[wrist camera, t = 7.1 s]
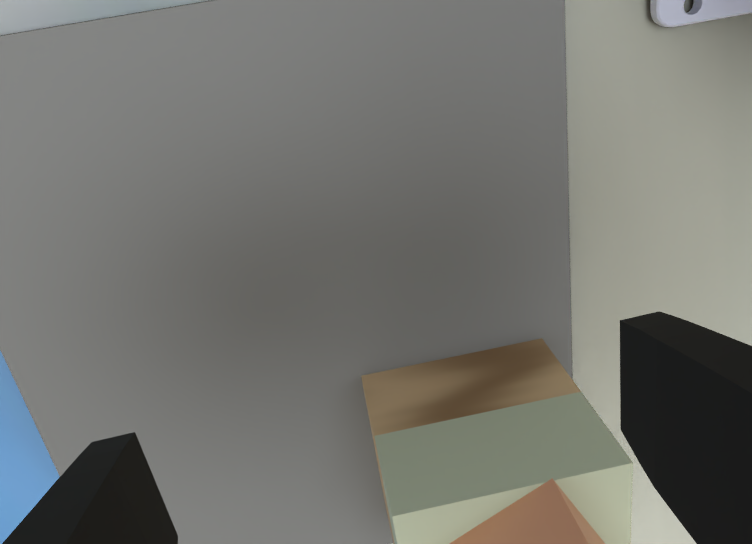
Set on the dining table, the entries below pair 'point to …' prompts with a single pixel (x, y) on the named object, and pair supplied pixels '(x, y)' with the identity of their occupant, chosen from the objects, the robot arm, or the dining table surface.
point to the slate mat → (275, 235)
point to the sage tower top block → (504, 469)
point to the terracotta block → (535, 522)
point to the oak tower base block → (462, 387)
